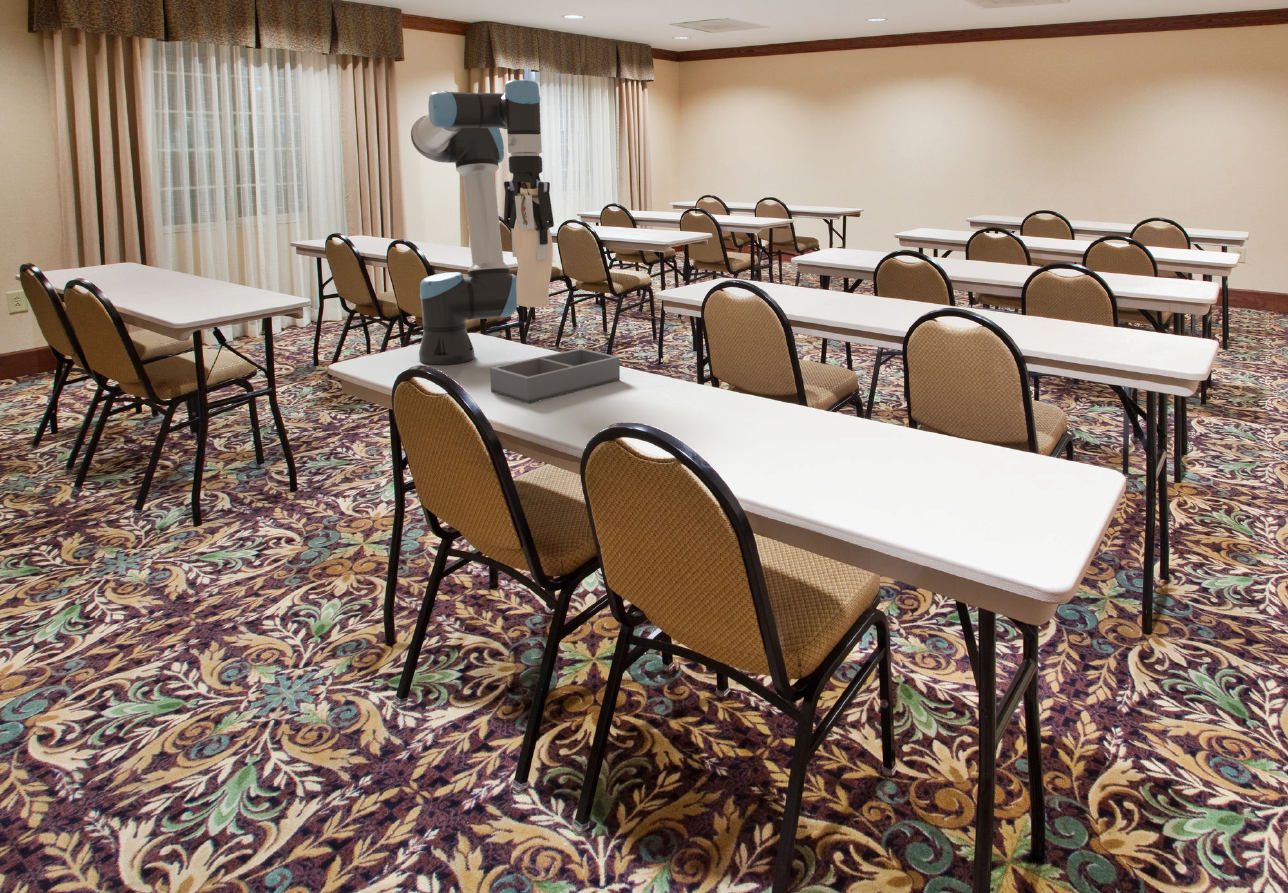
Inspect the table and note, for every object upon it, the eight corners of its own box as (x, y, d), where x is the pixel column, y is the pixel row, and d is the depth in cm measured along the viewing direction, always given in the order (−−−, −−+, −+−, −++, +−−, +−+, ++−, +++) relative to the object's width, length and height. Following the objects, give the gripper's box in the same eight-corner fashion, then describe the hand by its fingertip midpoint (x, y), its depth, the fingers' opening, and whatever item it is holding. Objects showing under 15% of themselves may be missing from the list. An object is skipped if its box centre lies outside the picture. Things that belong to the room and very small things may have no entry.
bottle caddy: (491, 391, 206) (489, 367, 204) (582, 370, 226) (581, 348, 224) (528, 403, 196) (527, 378, 194) (619, 380, 216) (619, 357, 214)
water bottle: (548, 310, 197) (548, 184, 187) (510, 308, 197) (508, 182, 187) (554, 301, 207) (555, 181, 196) (518, 299, 207) (516, 179, 197)
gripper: (483, 155, 195) (489, 255, 202) (542, 154, 181) (546, 262, 189) (509, 155, 200) (514, 253, 208) (568, 154, 187) (571, 259, 194)
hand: (529, 257), depth 198 cm, fingers closed on water bottle, 8 cm apart
